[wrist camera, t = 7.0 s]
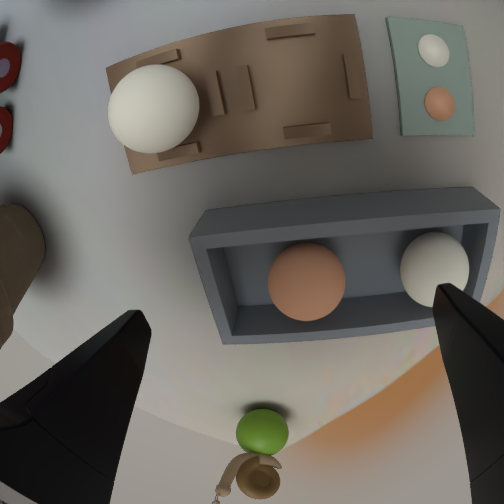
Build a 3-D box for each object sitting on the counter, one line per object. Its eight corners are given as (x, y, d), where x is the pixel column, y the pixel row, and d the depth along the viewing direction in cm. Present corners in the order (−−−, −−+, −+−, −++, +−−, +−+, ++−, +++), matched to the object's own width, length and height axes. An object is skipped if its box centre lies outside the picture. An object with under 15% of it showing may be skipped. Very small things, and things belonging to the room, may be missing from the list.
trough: (472, 186, 16) (500, 209, 13) (456, 287, 20) (474, 318, 17) (205, 210, 19) (188, 237, 16) (231, 309, 23) (222, 344, 20)
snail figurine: (241, 391, 29) (220, 501, 19) (298, 407, 30) (292, 512, 19) (225, 412, 32) (204, 507, 21) (276, 427, 32) (266, 519, 22)
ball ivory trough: (455, 217, 17) (488, 252, 13) (446, 275, 19) (471, 316, 15) (393, 222, 18) (416, 261, 14) (390, 282, 20) (406, 327, 16)
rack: (351, 17, 12) (356, 12, 11) (368, 135, 16) (375, 141, 14) (114, 67, 15) (100, 68, 14) (139, 169, 18) (127, 177, 17)
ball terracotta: (340, 285, 20) (350, 333, 17) (274, 292, 21) (271, 340, 17) (338, 225, 18) (351, 266, 14) (264, 233, 19) (258, 276, 15)
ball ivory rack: (200, 56, 14) (169, 49, 10) (217, 134, 16) (192, 152, 12) (127, 79, 15) (81, 83, 11) (144, 150, 17) (104, 173, 13)
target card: (460, 26, 11) (464, 25, 11) (470, 134, 14) (475, 137, 14) (385, 18, 12) (388, 16, 12) (400, 134, 15) (404, 136, 15)
